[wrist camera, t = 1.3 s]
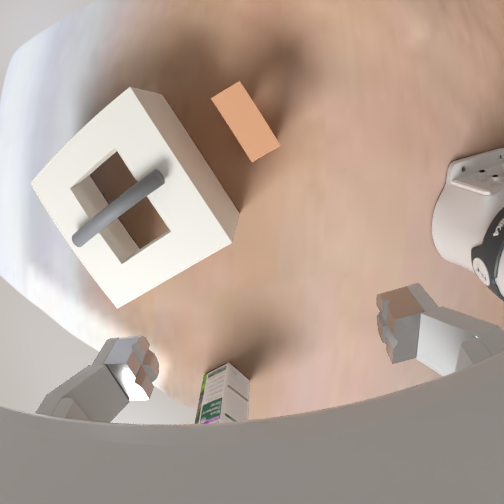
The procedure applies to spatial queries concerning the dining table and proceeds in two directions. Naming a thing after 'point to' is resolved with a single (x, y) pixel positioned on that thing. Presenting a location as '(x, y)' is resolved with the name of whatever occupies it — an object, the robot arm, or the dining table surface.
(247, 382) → the syrup box
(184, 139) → the shelf
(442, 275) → the dining table surface
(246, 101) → the notched wooden block
